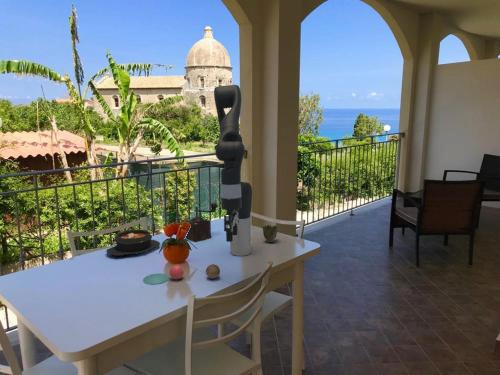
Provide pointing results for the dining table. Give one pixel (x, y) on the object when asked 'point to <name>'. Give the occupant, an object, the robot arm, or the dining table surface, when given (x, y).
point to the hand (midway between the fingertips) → (232, 238)
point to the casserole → (132, 243)
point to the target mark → (156, 279)
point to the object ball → (176, 272)
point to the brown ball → (212, 271)
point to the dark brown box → (200, 226)
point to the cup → (270, 233)
